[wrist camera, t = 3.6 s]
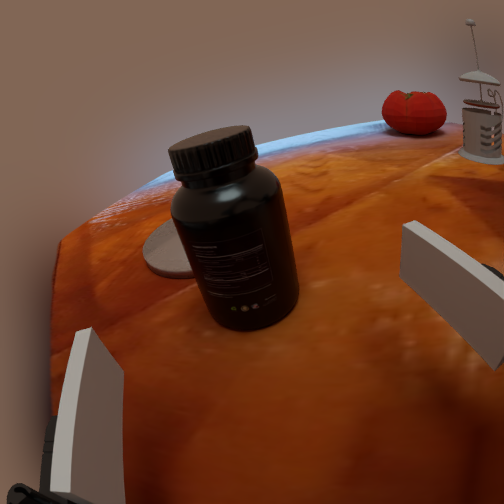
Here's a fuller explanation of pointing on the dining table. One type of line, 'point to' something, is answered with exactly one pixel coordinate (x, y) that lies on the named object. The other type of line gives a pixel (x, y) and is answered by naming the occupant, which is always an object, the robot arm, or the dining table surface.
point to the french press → (481, 122)
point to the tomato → (414, 112)
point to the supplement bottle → (234, 228)
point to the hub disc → (167, 253)
